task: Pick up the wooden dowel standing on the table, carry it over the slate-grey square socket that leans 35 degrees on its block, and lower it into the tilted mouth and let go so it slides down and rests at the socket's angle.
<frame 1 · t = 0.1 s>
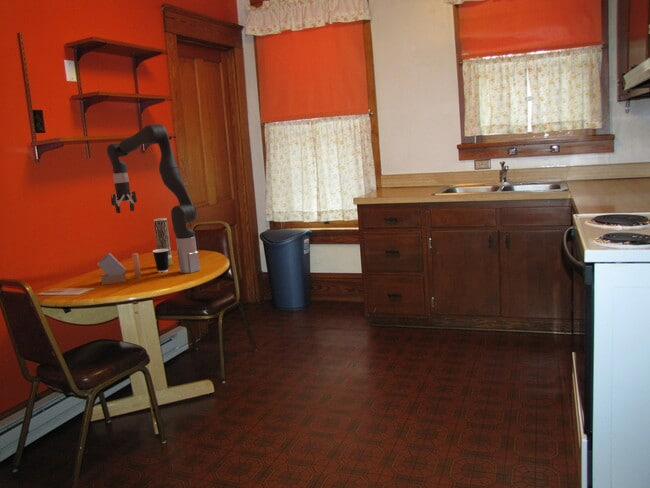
hand: (125, 212, 330), 29 cm above the table, tool pointing down, fingers open, 8 cm apart
dowel: (138, 277, 302), on the table
dixie cup: (163, 271, 313), on the table
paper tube: (165, 265, 328), on the table
socket: (119, 280, 298), on the table
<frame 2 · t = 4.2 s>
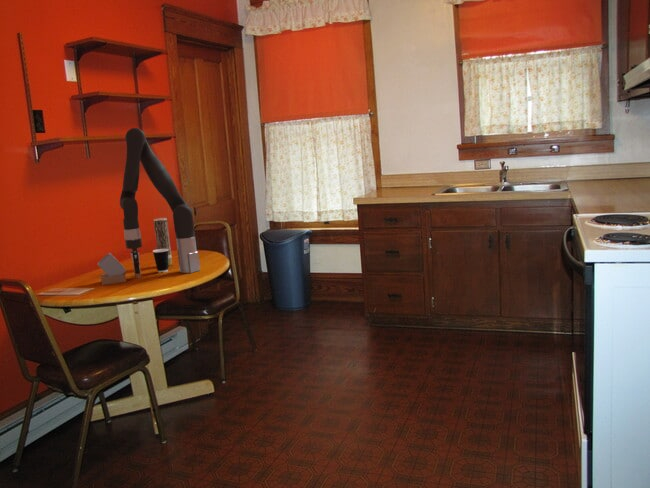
hand: (137, 272, 301), 3 cm above the table, tool pointing down, fingers closed on dowel, 3 cm apart
dowel: (138, 277, 302), on the table, touching gripper
everything else where it was.
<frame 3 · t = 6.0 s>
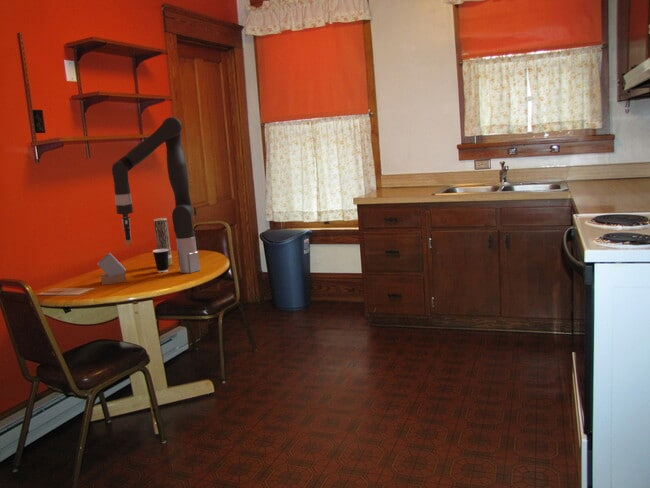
hand: (128, 239, 298), 19 cm above the table, tool pointing down, fingers closed on dowel, 3 cm apart
dowel: (128, 244, 298), point 17 cm above the table, touching gripper
everything else where it was.
when the fingers open (14 cm above the table, at t = 7.9 s): dowel drops 7 cm and tips over, resting on socket.
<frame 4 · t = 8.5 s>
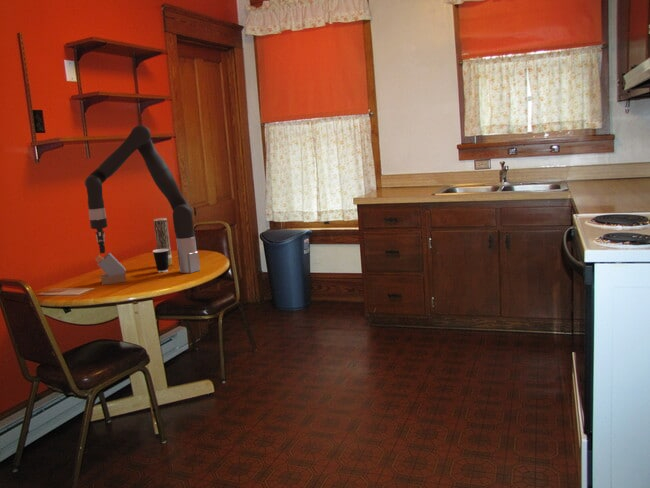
hand: (102, 251, 294), 15 cm above the table, tool pointing down, fingers open, 8 cm apart
dowel: (118, 271, 298), point 5 cm above the table, tilted 47°, touching socket
everything else where it was.
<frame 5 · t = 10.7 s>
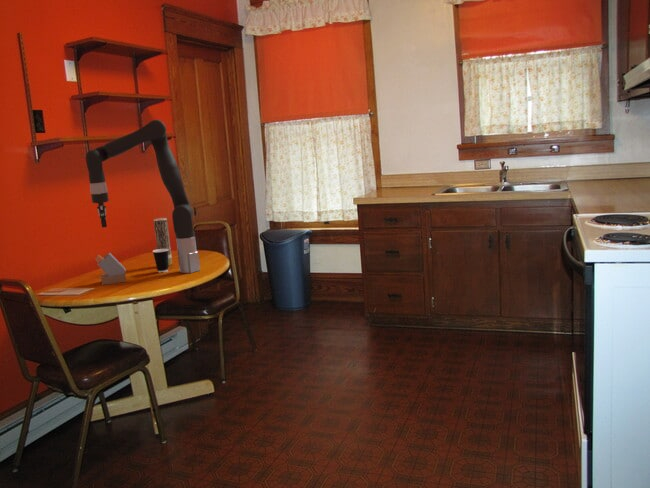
hand: (104, 226, 295), 27 cm above the table, tool pointing down, fingers open, 8 cm apart
nothing on the table moved.
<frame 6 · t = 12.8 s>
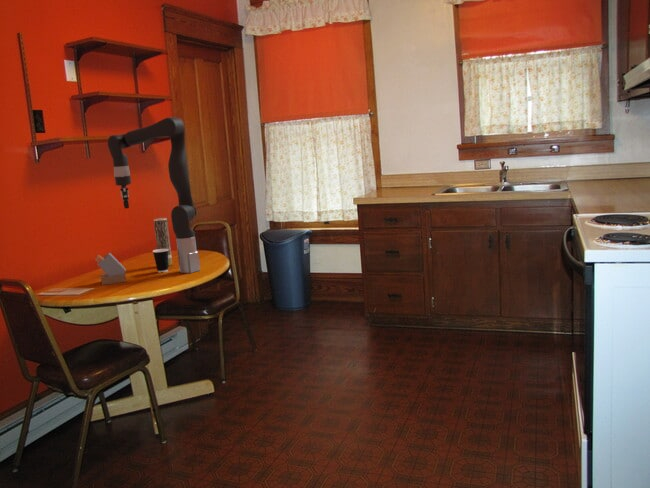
hand: (126, 207, 312), 33 cm above the table, tool pointing down, fingers open, 8 cm apart
nothing on the table moved.
at the end: dowel inside the target area on the socket (1.4 cm from its centre), point 4.6 cm above the socket's base; dowel tilted 47°; the gripper is holding nothing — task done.
